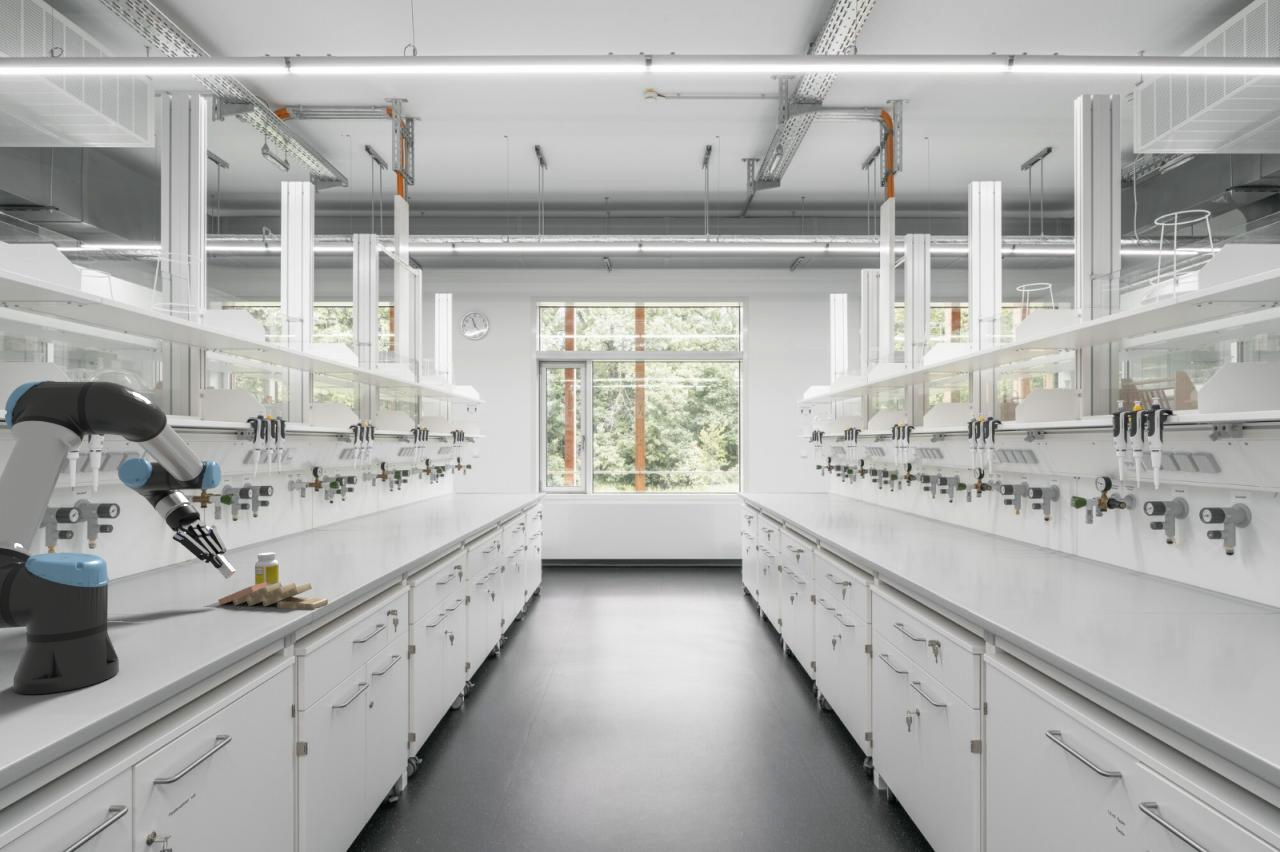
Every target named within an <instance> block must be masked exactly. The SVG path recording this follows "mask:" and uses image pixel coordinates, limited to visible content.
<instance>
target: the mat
mask: <svg viewBox="0 0 1280 852" xmlns="http://www.w3.org/2000/svg"><path fill="white" fill-rule="evenodd" d="M203 608H223V609H225V608H227V609H248V610H249V609H250V610H276V611H277V610H279V609H280V608H277V603H274V604H271V605H268V606H265V607H264V605H263V602H261V603H258V604H255V605H252V606H248V603H247V602H245V603H242V604H239V605H236V606H234V603H233V602H230V603H226V604H223V605H220V604H219V601H217V602H215V603H211V604H209V605H204V606H203Z"/></svg>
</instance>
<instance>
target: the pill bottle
mask: <svg viewBox="0 0 1280 852" xmlns="http://www.w3.org/2000/svg"><path fill="white" fill-rule="evenodd" d="M276 555H277V554H276V552H261V553H258V554H257V560H258V561H257V562H255V565H254V585H257V584H260V583H264V582H267V585H268V586H269V585H273V584H276V583H280V580H279V579H280V578H279V576H280V575H279V574H280V573H279V561H278V560H277V559H276Z"/></svg>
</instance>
